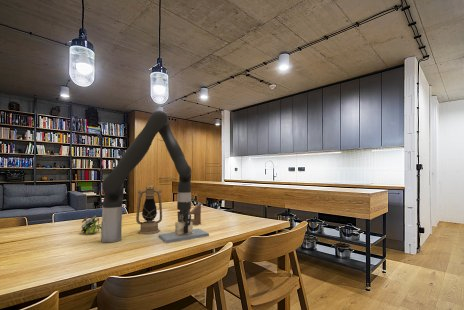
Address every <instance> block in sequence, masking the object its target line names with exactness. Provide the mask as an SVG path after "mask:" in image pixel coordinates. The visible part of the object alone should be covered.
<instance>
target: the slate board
mask: <svg viewBox="0 0 464 310" xmlns="http://www.w3.org/2000/svg"><path fill="white" fill-rule="evenodd" d="M157 234H158V233H157ZM209 236H210V233H209V232H207V231H205V230H203V229H200V228H192V233H191V234H185V235H179V236H178V235H177V234H175V231H172V232H171V231H170V232H166V233H159V234H158V239H160V240H162V241H163V242H165V243H166V244H169V243H176V242H181V241H186V240H187V241H188V240H193V239H200V238H203V237H204V238H205V237H209Z"/></svg>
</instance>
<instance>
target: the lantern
mask: <svg viewBox="0 0 464 310" xmlns="http://www.w3.org/2000/svg"><path fill="white" fill-rule="evenodd" d="M144 193H145V194H144ZM155 193H156V194H155ZM161 194H162V189H159V190H158V189H155V185H152V184H148V185H146V186H145V189H144V190H139V189H138V191H137V195H138V198H137V204H136V206H137V208H136V219H135V220H136V221H135V222H136V223H137V224H138V225H140V227H139V228H140V229H139V230H138V232H137V233H138V234H139V235H154V234H158V233H160V232H161V230H160V229H159V224H160V223H161V222H162V221H163V205H162V204H163V203H162V195H161ZM156 195H157V197H158V198H157V199H158V209H157V204H156V201H155V196H156ZM143 196H145V200H144V204H143V205H142V211H141V202H142V197H143ZM140 213H141V216H142V218H143V219H144V220H143V219H142V221H143V222H142V221H140V220H141V218H140ZM158 214H159V218H158V220H155V219H156V218H157V215H158Z"/></svg>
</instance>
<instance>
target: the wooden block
mask: <svg viewBox="0 0 464 310" xmlns="http://www.w3.org/2000/svg"><path fill="white" fill-rule="evenodd" d="M188 212H189V215H193V218H191V222H193V226H198V225H199V224H200V225H201V223H202V222H201V221H202V219H201V218H202V217H201V215H202V203H201V202H198V203H197V204H196V205H195V207H193V208H192V209H189V210H188Z"/></svg>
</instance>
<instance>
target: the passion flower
mask: <svg viewBox="0 0 464 310" xmlns="http://www.w3.org/2000/svg"><path fill="white" fill-rule="evenodd" d="M96 217H97V215H94V216H91V218H89V217H87V216H86V217H85V218H83V220H81V223H83V224H82V225H81V227H80V228H81V231H80V232H81V233H82V232H83V234H84V233H85V235H86V236H88V235H89V234H92V233H95V232H96V231H97V230H98V232H100V230H101V223H100V218H99V217H97V218H96ZM96 223H97V224H96Z"/></svg>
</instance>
